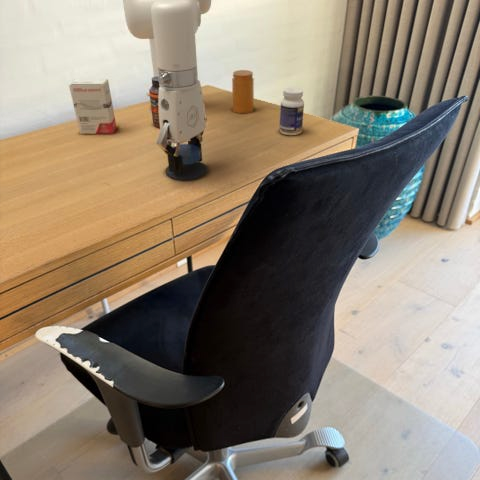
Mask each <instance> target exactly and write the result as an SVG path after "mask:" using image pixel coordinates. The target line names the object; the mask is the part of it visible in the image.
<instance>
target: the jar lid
mask: <svg viewBox="0 0 480 480" xmlns="http://www.w3.org/2000/svg"><path fill="white" fill-rule="evenodd" d="M172 147H173V148H174V146H172ZM179 155H181V159H182V164H192V163H196V162H198V161H199V160H200V159H201V150H200V148H199V147H198V146H195V145H191V144H188V143H181V144H180V150H179Z"/></svg>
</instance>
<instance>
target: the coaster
mask: <svg viewBox="0 0 480 480" xmlns="http://www.w3.org/2000/svg"><path fill="white" fill-rule="evenodd" d="M182 169H183V173H182V174H177V173H173V172H170V171H169V165H168V166H166V168H165V175H166V176H167V177H168V178H170V179H172V180H175V181H183V182H184V181H185V182H187V181H194V180H198V179H201V178H203V177H204V176H206V174H207V173H208V166H207V165H206V164H204V163H203V162H196V163H192V164H182Z"/></svg>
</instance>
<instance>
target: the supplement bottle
mask: <svg viewBox="0 0 480 480" xmlns="http://www.w3.org/2000/svg"><path fill="white" fill-rule="evenodd" d="M150 87H151V88H150V89H149V88H148V91H149V94H150V96H149V102H150V108H151V109H150V110H151V119H152V124H153V126H155V127H157V128H160V122H159V103H158V99H159V88H160V86H159V82H158V76H155V77H154V76H153V77H152V78H151V86H150Z"/></svg>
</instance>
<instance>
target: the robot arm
mask: <svg viewBox="0 0 480 480" xmlns="http://www.w3.org/2000/svg"><path fill="white" fill-rule="evenodd" d="M122 3H123V11H124V18H125V23H126V27H127V29H128V31H129V33H130V34H131V35H132V36H133V37H134V38H136V39H140V40H149V48H150V57H151V65H152V72H153V73H152V74H153V77H155V76H158V82H159V86H160V88H159V99H158V103H159V122H160V127H159V130H160V132H159V135H158V137H157V140H156V145H157V146H158V147H159V148H160V149H161V150H162V151H163V152H164V154H165V155H167V164H168V166H169V171H170V172H173V173H177V174H182V173H183V169H182V159H181V155H179V150H180V145H181V144H185V143H186V142H187V144H191V145H195V146H198V147H199V148H200V150H201V159H200V160H199V161H198V162H200V163H202V162H203V149H202V142H203V140H204V139H203V135H204V132H205V130H206V129H207V122H208V118H207V117H206V107H205V106H206V105H205V99H204V93H203V89H202V88H203V87H202V84H201V81H200V80H199V76H198V74H199V73H198V59H197V58H198V57H197V44H196V42H197V41H196V34H197V32H198V30H199V27H201V23H202V18H201V17H202V15H204V14H207V13H208V12H209V11H210V9H211V6H212V0H122ZM151 87H152V86H149V87H148V90H147V91H146V95H147V96H148V97H150V94H149V89H150V88H151ZM172 143H174V146H172ZM173 147H174V148H173Z"/></svg>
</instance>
